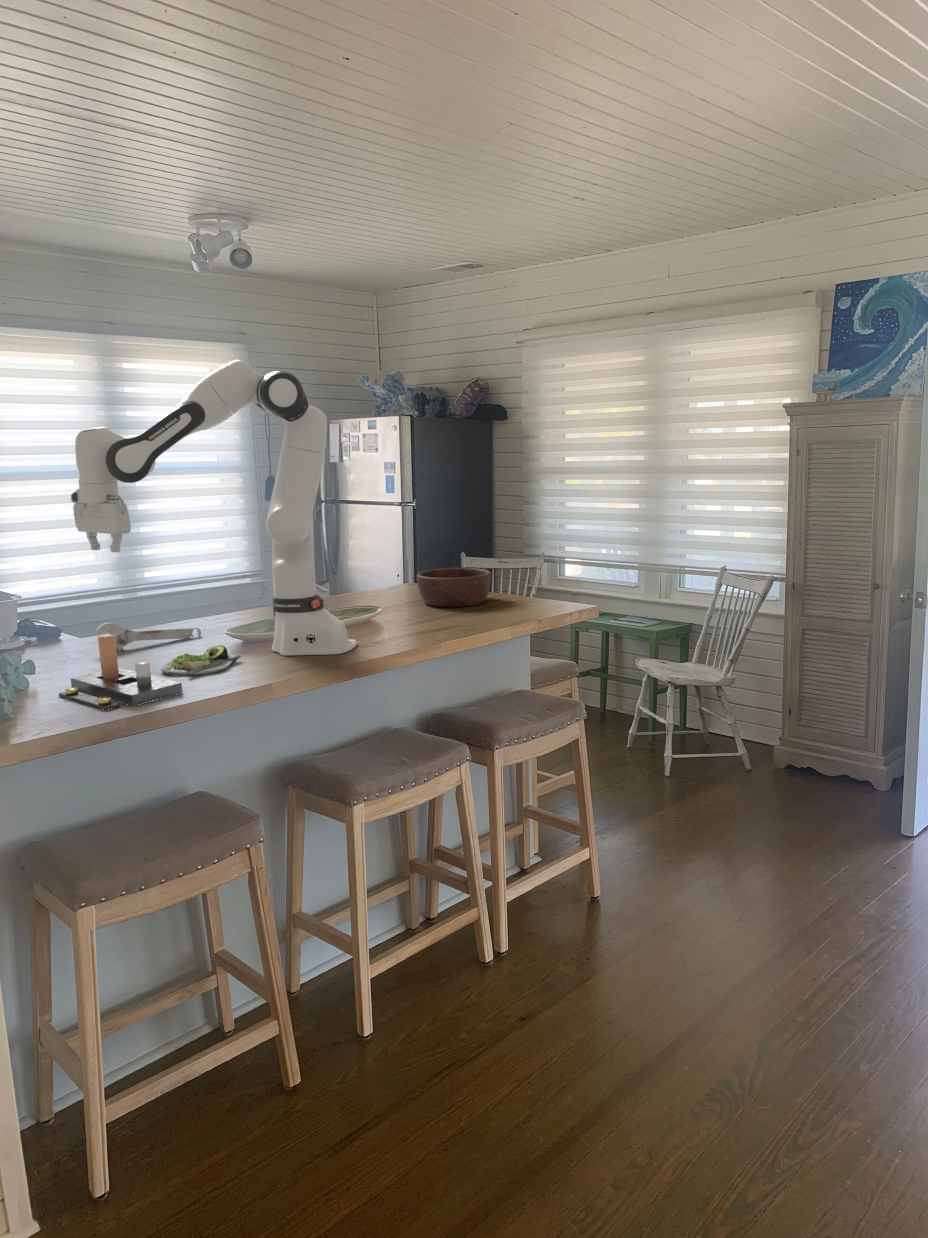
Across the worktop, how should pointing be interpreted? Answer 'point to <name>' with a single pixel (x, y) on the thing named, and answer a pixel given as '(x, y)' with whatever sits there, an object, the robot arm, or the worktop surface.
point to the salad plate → (201, 662)
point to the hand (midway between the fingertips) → (105, 551)
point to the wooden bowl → (454, 586)
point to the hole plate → (121, 688)
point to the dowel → (108, 657)
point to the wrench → (143, 634)
